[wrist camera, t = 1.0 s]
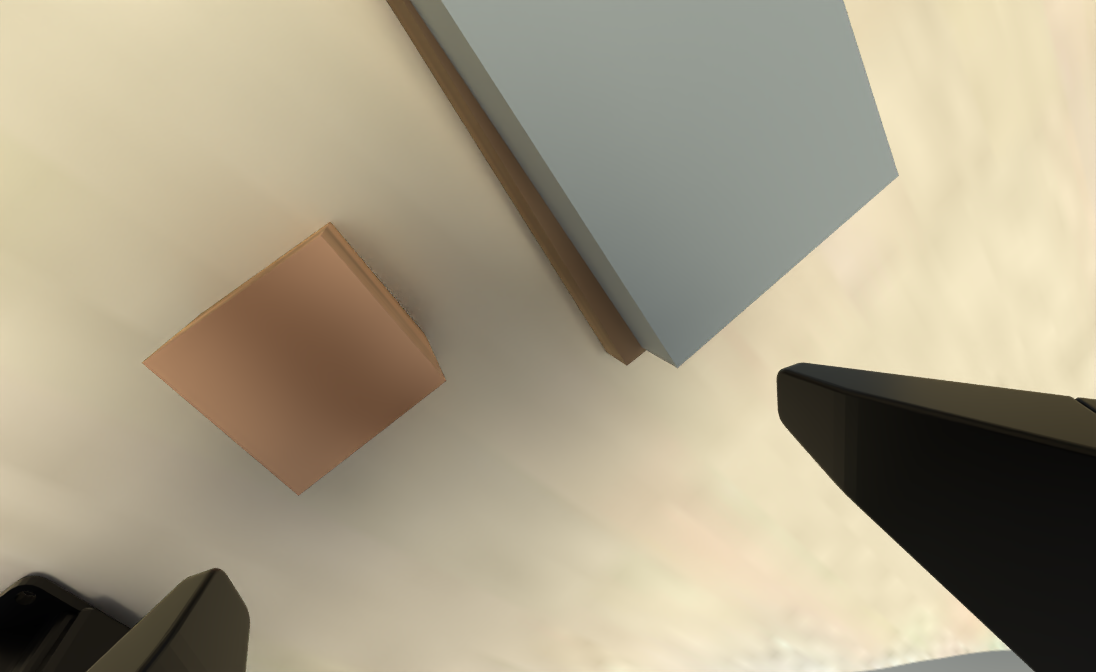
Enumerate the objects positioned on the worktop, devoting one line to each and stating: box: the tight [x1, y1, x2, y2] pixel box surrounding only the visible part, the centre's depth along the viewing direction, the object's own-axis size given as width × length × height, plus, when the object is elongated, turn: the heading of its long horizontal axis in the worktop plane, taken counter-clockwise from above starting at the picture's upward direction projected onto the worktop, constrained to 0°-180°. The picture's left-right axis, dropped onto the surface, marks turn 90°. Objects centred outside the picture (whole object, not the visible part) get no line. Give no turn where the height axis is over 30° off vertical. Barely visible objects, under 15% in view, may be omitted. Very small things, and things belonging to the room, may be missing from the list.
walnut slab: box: [387, 0, 646, 365], centre depth 19 cm, size 12×16×2 cm
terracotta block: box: [142, 222, 446, 496], centre depth 16 cm, size 5×5×5 cm
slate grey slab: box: [410, 0, 899, 368], centre depth 17 cm, size 11×15×2 cm
